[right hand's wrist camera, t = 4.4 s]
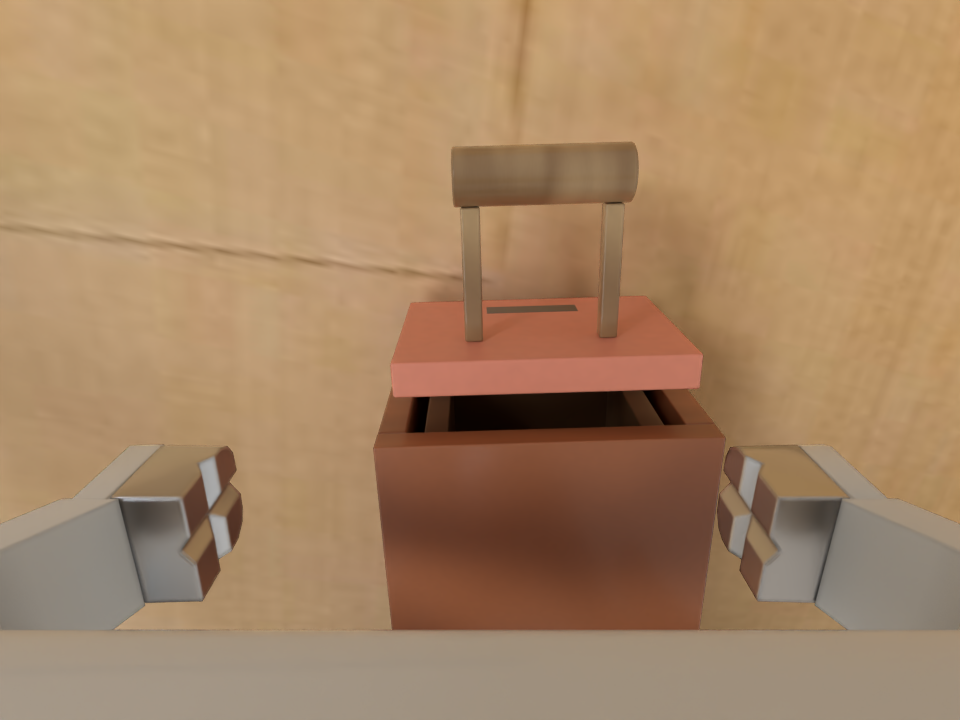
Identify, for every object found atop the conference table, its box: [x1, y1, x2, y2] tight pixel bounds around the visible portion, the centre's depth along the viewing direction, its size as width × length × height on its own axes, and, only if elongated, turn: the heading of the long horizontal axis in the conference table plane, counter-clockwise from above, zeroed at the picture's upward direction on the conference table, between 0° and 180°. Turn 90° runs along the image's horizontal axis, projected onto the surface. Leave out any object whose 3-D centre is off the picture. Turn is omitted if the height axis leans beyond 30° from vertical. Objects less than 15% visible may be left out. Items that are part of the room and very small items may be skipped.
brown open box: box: [373, 388, 726, 630], centre depth 26 cm, size 19×11×9 cm, turn 1°
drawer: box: [390, 142, 703, 433], centre depth 24 cm, size 24×10×7 cm, turn 1°
